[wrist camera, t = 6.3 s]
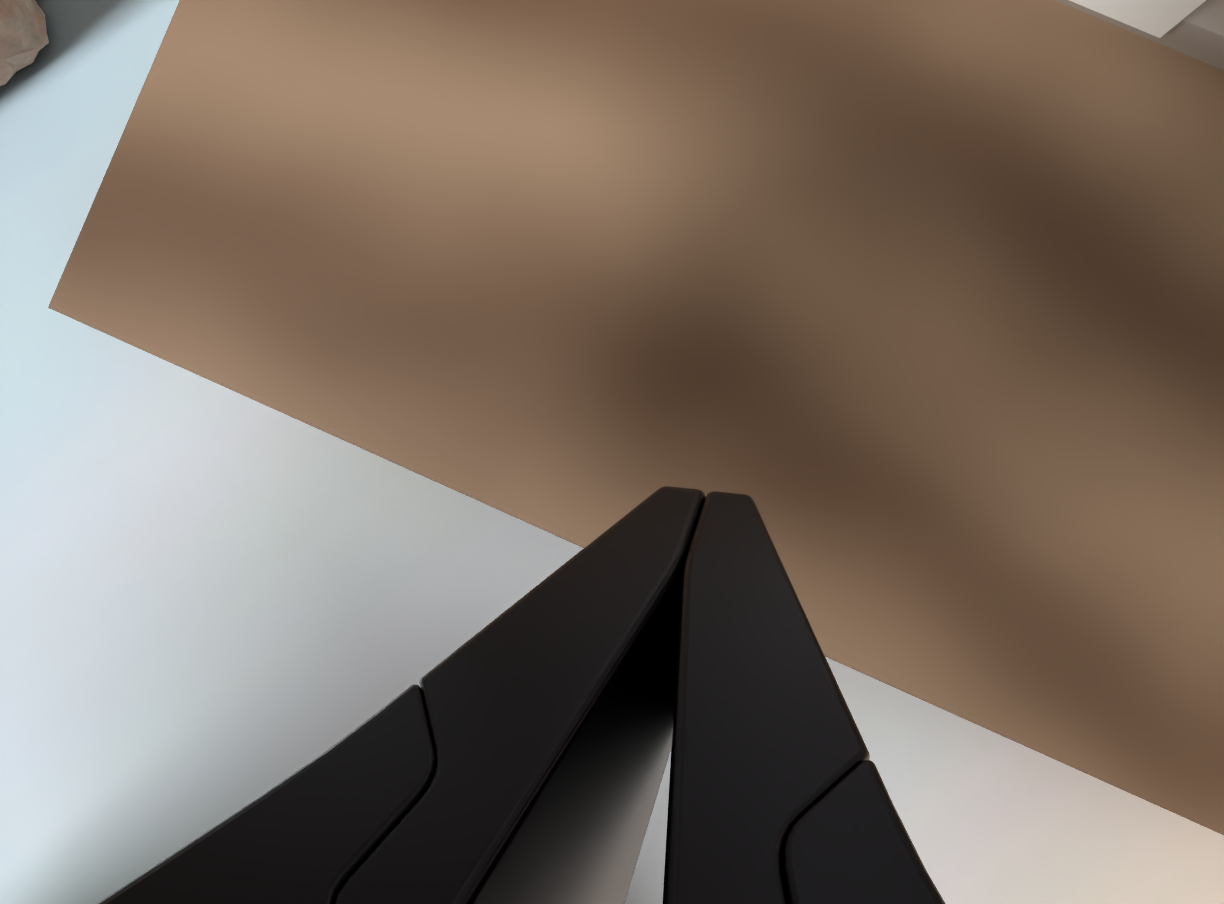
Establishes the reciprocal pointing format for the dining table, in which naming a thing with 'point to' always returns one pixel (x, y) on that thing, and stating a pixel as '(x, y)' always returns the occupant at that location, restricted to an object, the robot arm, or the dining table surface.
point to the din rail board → (745, 306)
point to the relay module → (1144, 12)
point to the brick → (20, 35)
